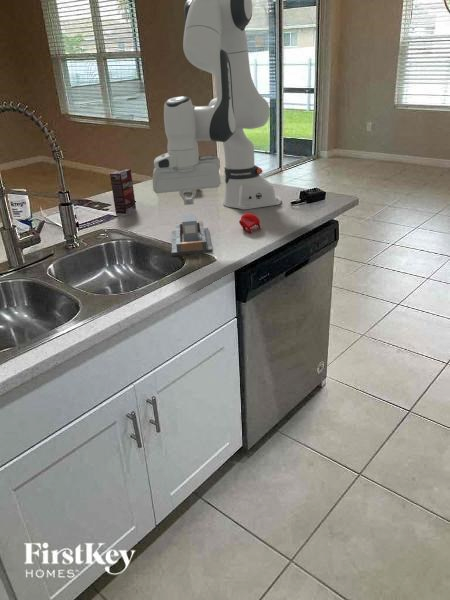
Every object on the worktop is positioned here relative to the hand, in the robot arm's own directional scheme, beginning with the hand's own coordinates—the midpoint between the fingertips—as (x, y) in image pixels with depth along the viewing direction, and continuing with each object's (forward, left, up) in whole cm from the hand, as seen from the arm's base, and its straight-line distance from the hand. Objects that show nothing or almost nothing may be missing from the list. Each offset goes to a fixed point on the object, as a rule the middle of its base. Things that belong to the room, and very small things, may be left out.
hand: (189, 204), depth 143 cm
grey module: (0, 0, -11) cm, 11 cm away
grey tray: (0, 0, -12) cm, 12 cm away
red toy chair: (-19, -7, -13) cm, 24 cm away
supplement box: (+24, -40, -12) cm, 48 cm away
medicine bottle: (-1, -67, -12) cm, 68 cm away
